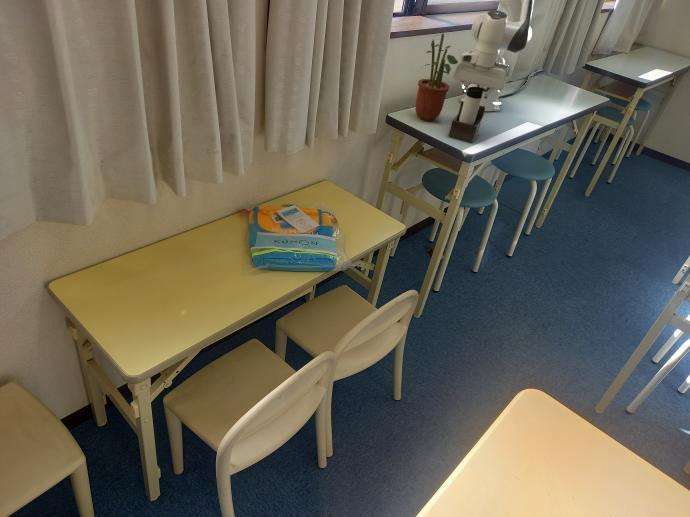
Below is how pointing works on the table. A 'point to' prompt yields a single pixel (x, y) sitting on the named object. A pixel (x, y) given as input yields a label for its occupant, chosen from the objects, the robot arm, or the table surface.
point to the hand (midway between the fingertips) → (474, 95)
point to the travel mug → (471, 105)
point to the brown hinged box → (466, 126)
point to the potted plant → (433, 86)
